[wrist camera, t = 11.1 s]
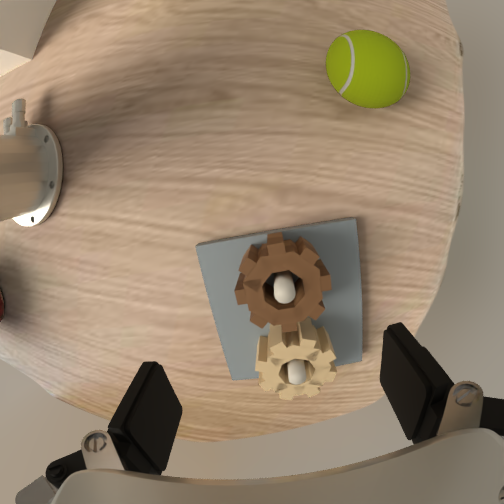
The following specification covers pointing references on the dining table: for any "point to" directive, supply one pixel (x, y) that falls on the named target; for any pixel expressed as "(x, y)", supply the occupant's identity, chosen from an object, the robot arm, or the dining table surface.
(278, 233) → the walnut gear
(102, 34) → the dining table surface
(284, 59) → the dining table surface
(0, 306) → the decorative planter
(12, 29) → the milk
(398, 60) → the tennis ball
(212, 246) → the gear board
